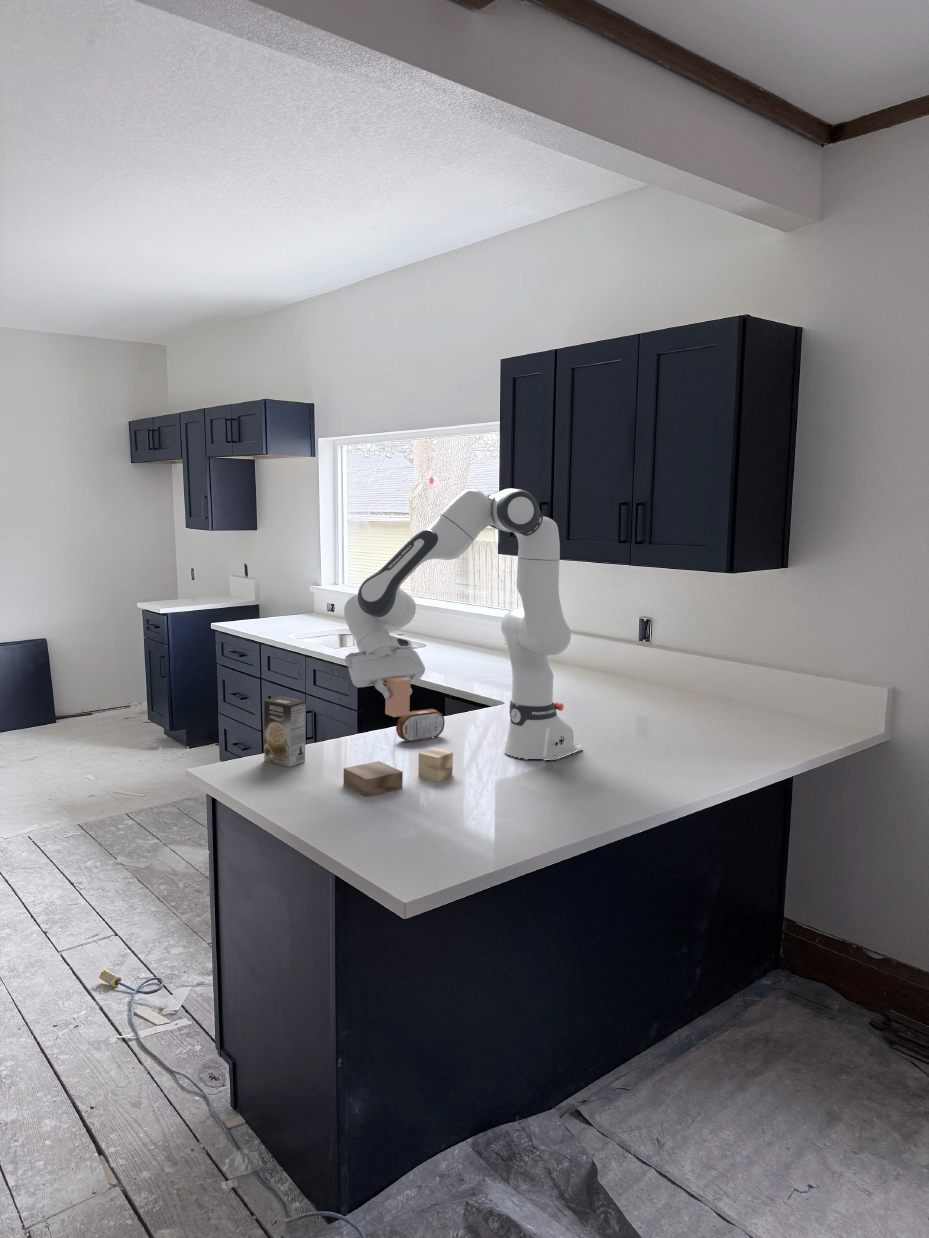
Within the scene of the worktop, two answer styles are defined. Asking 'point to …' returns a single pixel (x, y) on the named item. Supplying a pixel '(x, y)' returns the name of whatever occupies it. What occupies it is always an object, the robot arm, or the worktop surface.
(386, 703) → the terracotta block
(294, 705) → the coffee box
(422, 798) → the worktop surface
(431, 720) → the tin
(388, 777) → the walnut block
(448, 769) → the oak cube
